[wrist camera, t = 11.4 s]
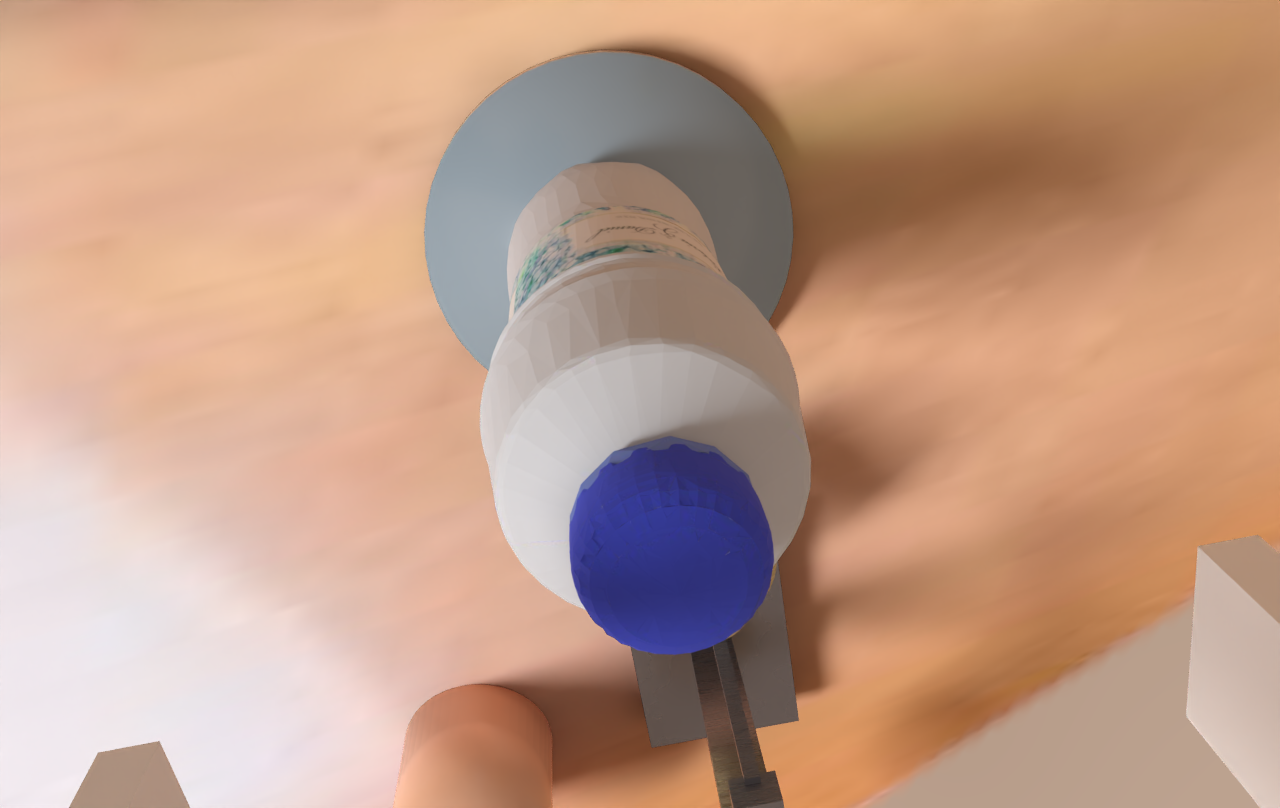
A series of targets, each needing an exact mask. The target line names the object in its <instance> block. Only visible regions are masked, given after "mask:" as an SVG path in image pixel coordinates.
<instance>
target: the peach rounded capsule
mask: <svg viewBox="0 0 1280 808" xmlns="http://www.w3.org/2000/svg"><path fill="white" fill-rule="evenodd" d="M393 808H552V734H551V729H550V726H549V723H548V721H547V719H546V717H545V716H544V714H543V713H542V712H541V710H540V709H539V708H538V707H537V706H536V705H535V704H534V703H533V702H532V701H530V700H529V699H528V698H526V697H524V696H523V695H521V694H519V693H517V692H515V691H512V690H510V689H507V688H503V687H499V686H494V685H484V684H475V685H465V686H460V687H455V688H452V689H449V690H446V691H444V692H442V693H440V694H438V695H435V696H434V697H432V698H431V699H429V700H428V701H427V702H426V703H424V704H423V705H422V706H421V707H420V708H419V709H418V710H417V711H416V713H415V714H414V716H413V717H412V719H411V721H410V723H409V725H408V728H407V731H406V736H405V741H404V747H403V753H402V759H401V764H400V770H399V776H398V781H397V787H396V793H395V798H394V804H393Z"/></svg>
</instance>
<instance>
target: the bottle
mask: <svg viewBox="0 0 1280 808" xmlns="http://www.w3.org/2000/svg"><path fill="white" fill-rule="evenodd" d="M507 281H508V293H509V300H510V310H509V321H508V324H507V325H506V327H505V328H504V330H503V331H502V333H501V335H500V337H499V340H498V342H497V345H496V347H495V350H494V352H493V355H492V359H491V363H490V368H489V371H488V374H487V378H486V381H485V384H484V387H483V393H482V399H481V405H480V431H481V440H482V445H483V449H484V453H485V457H486V460H487V462H488V465H489V471H490V477H491V483H492V489H493V495H494V501H495V507H496V510H497V514H498V518H499V522H500V525H501V528H502V530H503V533H504V535H505V538H506V540H507V541H508V543H509V544H510V546H511V548H512V549H513V551H514V553H515V554H516V556H517V557H518V559H519V560H520V562H521V564H522V565H523V566H524V567H525V568H526V569H527V570H528V571H529V572H530V573H531V574H532V575H533V576H534V577H535V578H536V579H537V580H538V581H539V582H540V583H541V584H542V585H543V586H545V587H546V588H547V589H549V590H550V591H552V592H553V593H555V594H556V595H558V596H559V597H561V598H562V599H564V600H565V601H566V602H568V603H571V604H573V605H575V606H578V607H580V608H582V609H585V610H587V612H588V614H589V615H590V617H591V618H592V620H593V621H594V622H595V623H596V624H597V625H599V626H600V627H602V628H603V629H604V631H605V632H606V634H607V635H609V636H611V637H613V638H615V639H616V640H618V641H619V642H620V643H621V644H625V645H628V646H631V647H633V648H634V649H636V650H640V651H645V652H650V653H654V654H672V655H676V654H684V653H692V652H696V651H699V650H702V649H706V648H709V647H711V646H713V645H715V644H717V643H719V642H721V641H724V640H726V639H727V638H728V637H729V636H730V635H732V634H733V633H735V632H736V631H738V630H740V629H741V628H742V627H743V625H744V624H745V623H747V622H748V621H749V620H750V619H751V618H752V617H753V615H754V614H755V612H756V610H757V609H758V607H759V606H760V605H761V604H762V603H763V601H764V599H765V596H766V594H767V592H768V589H769V587H770V582H771V576H772V570H773V566H774V565H775V564H776V562H777V561H778V560H779V558H780V557H781V555H782V554H783V553H784V551H785V550H786V549H787V547H788V546H789V545H790V543H791V542H792V540H793V538H794V536H795V534H796V532H797V529H798V527H799V525H800V523H801V521H802V518H803V516H804V512H805V508H806V504H807V500H808V495H809V491H810V487H811V457H810V452H809V447H808V442H807V437H806V433H805V428H804V423H803V418H802V413H801V408H800V401H799V390H798V384H797V379H796V375H795V371H794V368H793V365H792V362H791V359H790V356H789V354H788V352H787V350H786V348H785V347H784V345H783V343H782V341H781V339H780V337H779V336H778V334H777V333H776V332H775V330H774V329H773V328H772V326H771V325H770V324H769V322H768V321H767V320H766V319H765V318H764V316H763V315H762V314H761V312H760V311H759V310H758V308H757V307H756V305H755V304H754V303H753V302H752V301H751V300H750V299H749V298H748V297H747V296H746V295H745V294H744V293H743V292H742V291H741V290H740V289H739V288H738V287H737V286H735V285H734V284H733V283H731V282H730V281H728V280H727V278H726V276H725V274H724V273H723V271H722V269H721V267H720V265H719V263H718V260H717V256H716V252H715V248H714V244H713V241H712V238H711V235H710V233H709V230H708V228H707V226H706V224H705V222H704V220H703V218H702V216H701V214H700V212H699V211H698V209H697V208H696V207H695V205H694V204H693V203H692V201H691V200H690V199H689V198H688V196H687V195H686V194H685V193H683V192H682V191H681V190H680V189H679V188H678V187H677V186H676V185H675V184H673V183H672V182H671V181H670V180H668V179H667V178H666V177H665V176H663V175H662V174H660V173H659V172H657V171H656V170H653V169H651V168H649V167H646V166H644V165H641V164H639V163H623V162H601V163H584V164H577V165H574V166H572V167H570V168H568V169H565V170H563V171H561V172H560V173H559V174H558V175H556V176H555V177H554V178H553V179H552V180H551V181H550V182H548V183H547V184H546V185H545V186H544V187H543V188H542V189H540V190H539V191H538V192H537V193H536V194H535V196H534V197H533V198H532V199H531V201H530V202H529V203H528V204H527V205H526V207H525V208H524V209H523V210H522V212H521V214H520V215H519V217H518V219H517V221H516V223H515V226H514V229H513V233H512V237H511V241H510V244H509V249H508V260H507Z"/></svg>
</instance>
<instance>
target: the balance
mask: <svg viewBox="0 0 1280 808" xmlns="http://www.w3.org/2000/svg"><path fill="white" fill-rule="evenodd" d="M631 651H632V656H633V660H634V665H635V670H636V675H637V680H638V685H639V689H640V694H641V699H642V704H643V709H644V713H645V718H646V723H647V728H648V733H649V738H650V742H651V747H652V748H653V747H659V746H664V745H669V744H675V743H680V742H686V741H691V740H696V739H702V738H707V741H708V746H709V751H710V756H711V761H712V766H713V771H714V776H715V781H716V787H717V792H718V797H719V802H720V807H721V808H784V804H783V799H782V795H781V791H780V788H779V784H778V780H777V777H776V773H775V771H771V772H766V769H765V765H764V761H763V757H762V753H761V749H760V745H759V742H758V738H757V734H756V730H755V729H756V728H761V727H767V726H772V725H777V724H783V723H788V722H794V721H799V719H798V711H797V703H796V696H795V688H794V680H793V673H792V665H791V657H790V650H789V642H788V634H787V627H786V619H785V611H784V604H783V596H782V588H781V581H780V573H779V565H778V561H777V562H776V564H775V565H774V566H773V570H772V576H771V582H770V587H769V589H768V592H767V594H766V596H765V599H764V601H763V603H762V604H761V605H760V606H759V607H758V609H757V610H756V612H755V614H754V615H753V617H752V618H751V619H750V620H749V621H748V622H747V623H745V624H744V625H743V627H742V628H741V629H740V630H738V631H736V632H735V633H733V634H732V635H730V636H729V637H728V638H727V639H726V640H724V641H721V642H719V643H717V644H715V645H713V646H711V647H709V648H706V649H702V650H699V651H696V652H692V653H684V654H676V655H672V654H654V653H650V652H645V651H640V650H636V649H634V648H633V647H631Z"/></svg>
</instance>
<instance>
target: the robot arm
mask: <svg viewBox="0 0 1280 808" xmlns="http://www.w3.org/2000/svg"><path fill="white" fill-rule="evenodd" d="M1191 639H1192V640H1191V653H1190V667H1189V682H1188V696H1187V710H1186V717H1187V718H1188V719H1189V720H1190V722H1191V723H1192V724H1193V725H1194V727H1195V728H1196V729H1197V730H1198V732H1199V733H1200V734H1201V735H1202V737H1203V738H1204V739H1205V740H1206V741H1207V743H1208V744H1209V745H1210V746H1211V747H1212V749H1213V750H1214V751H1215V752H1216V754H1217V755H1218V756H1219V758H1220V759H1221V760H1222V761H1223V762H1224V764H1225V765H1226V766H1227V767H1228V769H1229V770H1230V771H1231V772H1232V773H1233V775H1234V776H1235V777H1236V778H1237V780H1238V781H1239V782H1240V783H1241V785H1242V786H1243V787H1244V788H1245V790H1246V791H1247V792H1248V793H1249V794H1250V796H1251V797H1252V798H1253V799H1254V801H1255V802H1256V803H1257V804H1258V805H1259V807H1260V808H1280V553H1278V552H1277V551H1276V550H1275V549H1274V548H1273V547H1271V546H1270V545H1269V544H1268V543H1267V542H1266V541H1264V540H1263V539H1262V538H1261V537H1260V536H1259V535H1255V536H1250V537H1244V538H1239V539H1234V540H1228V541H1223V542H1218V543H1212V544H1207V545H1202V546H1198V552H1197V566H1196V581H1195V595H1194V609H1193V624H1192V638H1191ZM69 808H190V807H189V804H188V802H187V800H186V798H185V796H184V794H183V791H182V789H181V787H180V785H179V783H178V781H177V778H176V776H175V774H174V772H173V770H172V768H171V765H170V763H169V761H168V759H167V757H166V755H165V752H164V750H163V748H162V746H161V744H160V742H159V741H158V742H153V743H148V744H142V745H137V746H132V747H126V748H121V749H116V750H110V751H105V752H100V753H98V754H97V756H96V758H95V760H94V762H93V763H92V765H91V767H90V769H89V771H88V773H87V775H86V777H85V779H84V780H83V782H82V784H81V786H80V788H79V790H78V792H77V794H76V796H75V797H74V799H73V801H72V803H71V805H70V807H69Z"/></svg>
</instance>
